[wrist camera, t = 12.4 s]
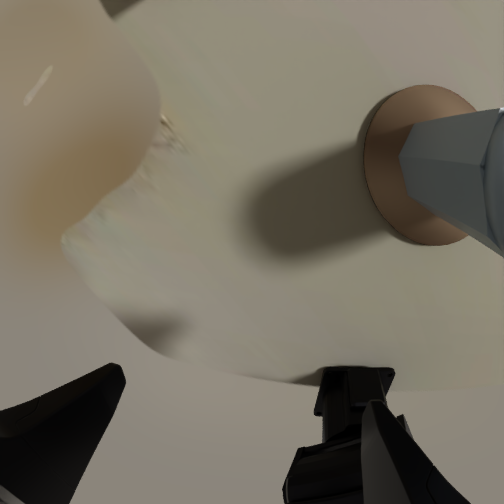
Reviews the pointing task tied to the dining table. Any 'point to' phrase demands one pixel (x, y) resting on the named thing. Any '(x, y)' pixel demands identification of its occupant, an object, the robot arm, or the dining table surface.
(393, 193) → the brown pegged disc
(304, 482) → the robot arm
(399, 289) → the dining table surface
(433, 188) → the blue dome cap nut
